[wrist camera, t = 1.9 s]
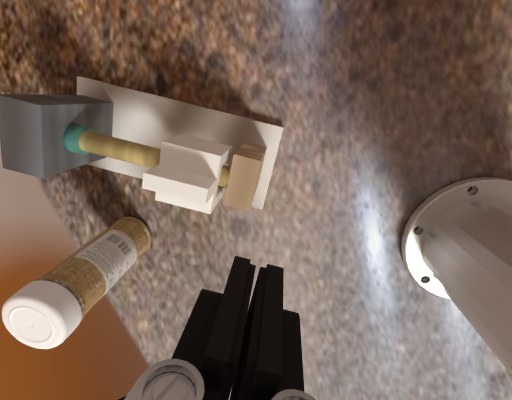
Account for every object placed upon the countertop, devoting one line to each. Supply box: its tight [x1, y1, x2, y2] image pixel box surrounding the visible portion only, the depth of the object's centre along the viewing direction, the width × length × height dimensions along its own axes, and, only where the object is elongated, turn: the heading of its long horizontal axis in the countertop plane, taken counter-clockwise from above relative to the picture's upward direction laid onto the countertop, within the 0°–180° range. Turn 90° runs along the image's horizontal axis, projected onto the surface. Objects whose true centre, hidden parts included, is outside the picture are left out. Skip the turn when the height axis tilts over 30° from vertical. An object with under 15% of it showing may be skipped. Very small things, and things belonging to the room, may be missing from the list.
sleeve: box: [142, 134, 232, 214], centre depth 20 cm, size 4×4×6 cm
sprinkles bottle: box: [2, 217, 151, 349], centre depth 25 cm, size 5×5×13 cm
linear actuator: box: [0, 76, 284, 212], centre depth 23 cm, size 19×8×9 cm, turn 77°
